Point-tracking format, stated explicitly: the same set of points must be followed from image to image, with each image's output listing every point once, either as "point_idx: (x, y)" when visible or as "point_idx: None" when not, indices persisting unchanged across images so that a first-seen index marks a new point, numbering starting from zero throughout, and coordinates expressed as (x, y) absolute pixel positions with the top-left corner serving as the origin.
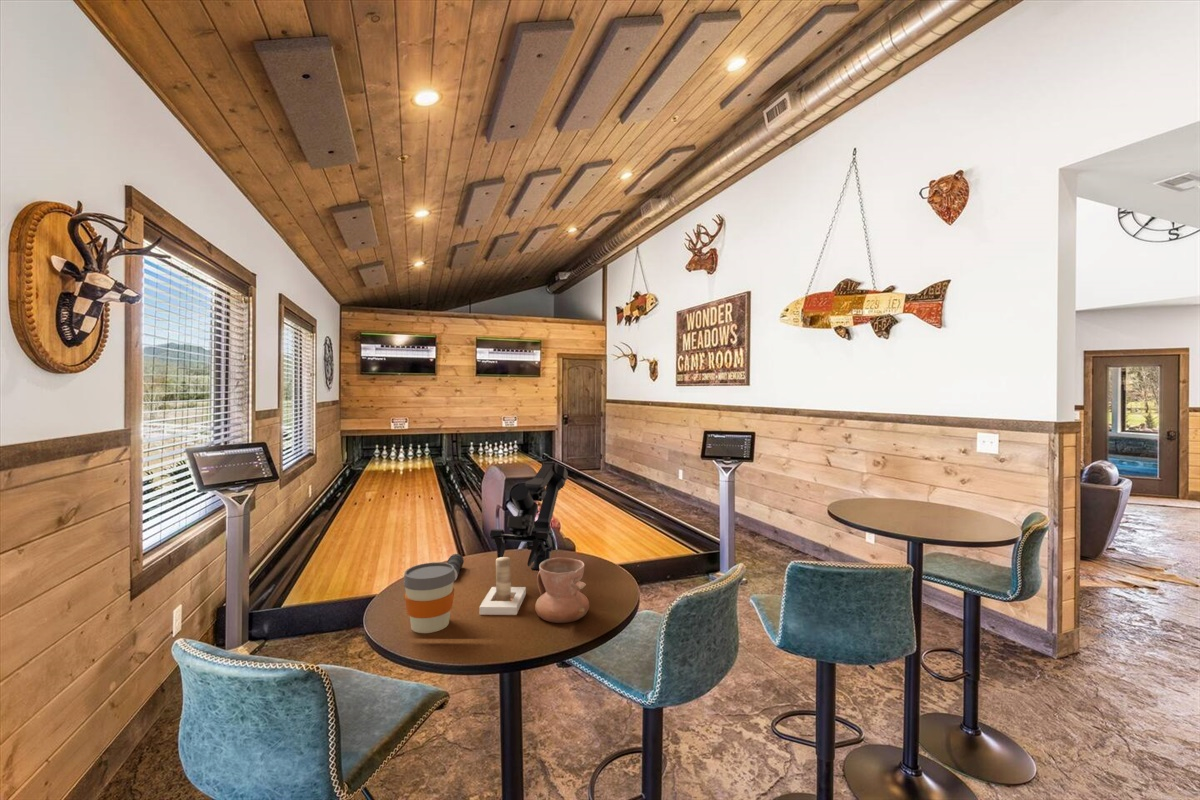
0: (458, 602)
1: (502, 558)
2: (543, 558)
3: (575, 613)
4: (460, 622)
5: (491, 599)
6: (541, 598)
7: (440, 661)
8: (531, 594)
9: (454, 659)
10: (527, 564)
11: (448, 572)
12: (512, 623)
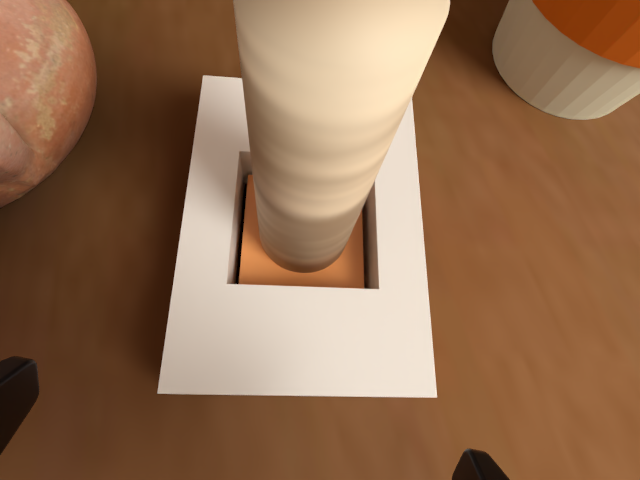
0: (582, 315)
1: (360, 7)
2: None
3: None
4: (464, 99)
5: (374, 187)
6: (23, 15)
7: None
8: (136, 452)
9: None
10: (30, 361)
11: None
12: (227, 75)
